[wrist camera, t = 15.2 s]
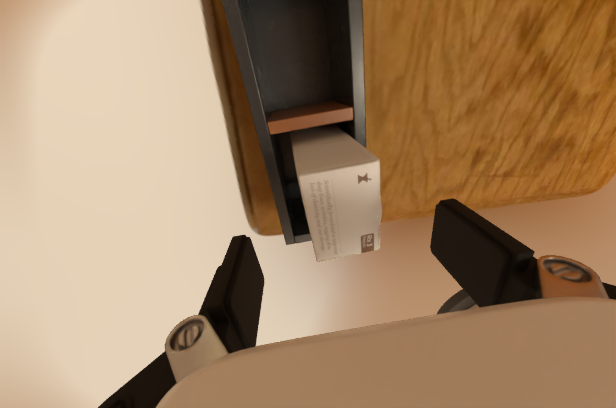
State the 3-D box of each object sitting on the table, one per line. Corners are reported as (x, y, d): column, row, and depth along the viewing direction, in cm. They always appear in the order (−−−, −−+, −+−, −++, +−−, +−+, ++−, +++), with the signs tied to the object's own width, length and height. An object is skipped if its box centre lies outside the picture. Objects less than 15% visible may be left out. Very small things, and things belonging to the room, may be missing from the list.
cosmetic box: (287, 128, 21) (288, 172, 10) (333, 118, 21) (382, 153, 10) (299, 186, 24) (310, 266, 13) (339, 178, 24) (383, 252, 13)
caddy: (346, 191, 26) (368, 230, 19) (286, 202, 26) (286, 245, 19) (328, -37, 16) (359, -126, 9) (233, -20, 16) (196, -96, 9)
